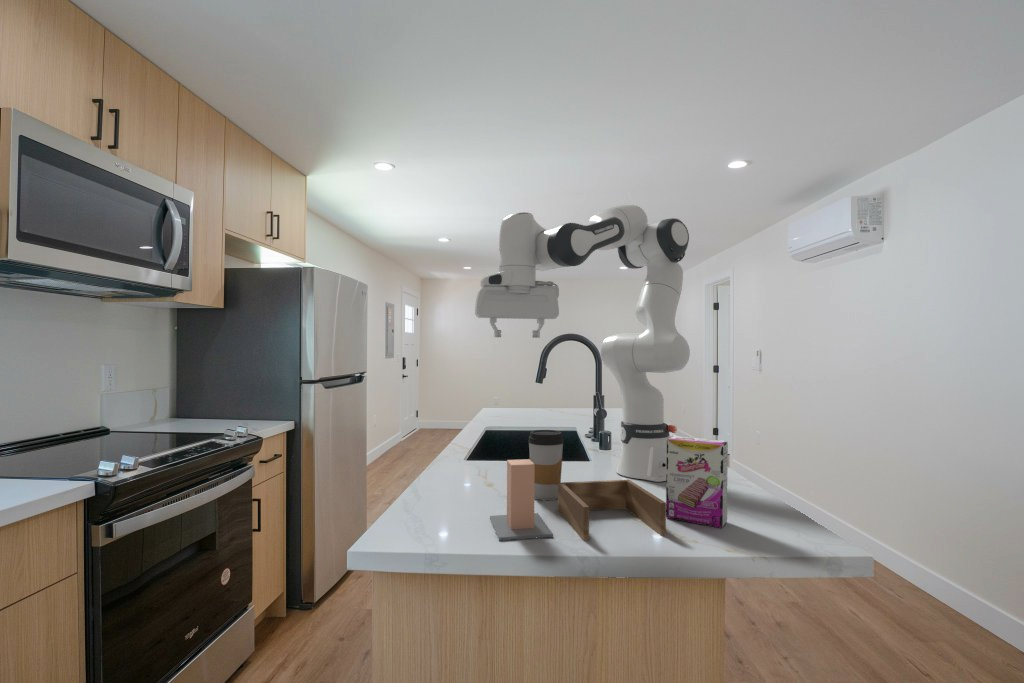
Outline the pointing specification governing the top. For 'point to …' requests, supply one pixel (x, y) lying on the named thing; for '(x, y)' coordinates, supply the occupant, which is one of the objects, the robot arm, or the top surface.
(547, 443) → the coffee cup
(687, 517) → the candy bar box
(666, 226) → the robot arm
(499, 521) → the slate coaster
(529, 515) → the terracotta block
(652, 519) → the walnut bay
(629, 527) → the top surface
